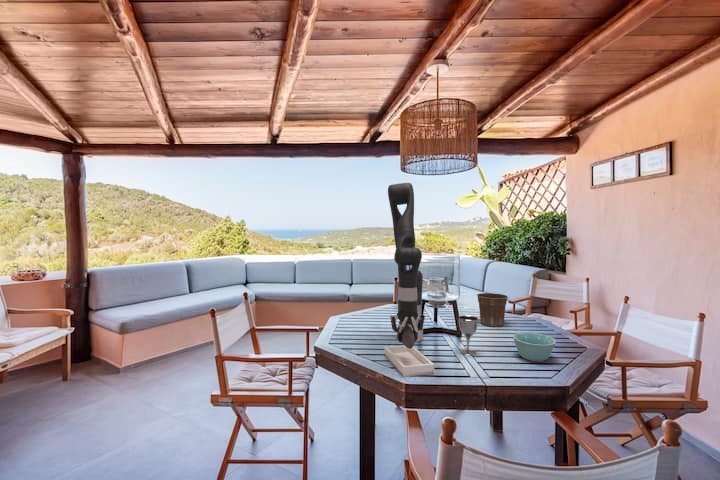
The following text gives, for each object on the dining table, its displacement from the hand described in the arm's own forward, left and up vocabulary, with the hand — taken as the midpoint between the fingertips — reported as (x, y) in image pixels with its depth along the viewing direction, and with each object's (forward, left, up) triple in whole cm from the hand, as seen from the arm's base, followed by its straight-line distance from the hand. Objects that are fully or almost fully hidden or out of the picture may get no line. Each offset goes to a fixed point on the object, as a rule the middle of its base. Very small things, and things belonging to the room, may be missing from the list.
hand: (407, 341), depth 137 cm
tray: (0, 0, -9) cm, 9 cm away
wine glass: (-30, -6, -9) cm, 32 cm away
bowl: (-53, +6, -9) cm, 54 cm away
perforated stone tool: (0, 0, -2) cm, 2 cm away
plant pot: (-67, -43, -9) cm, 80 cm away
